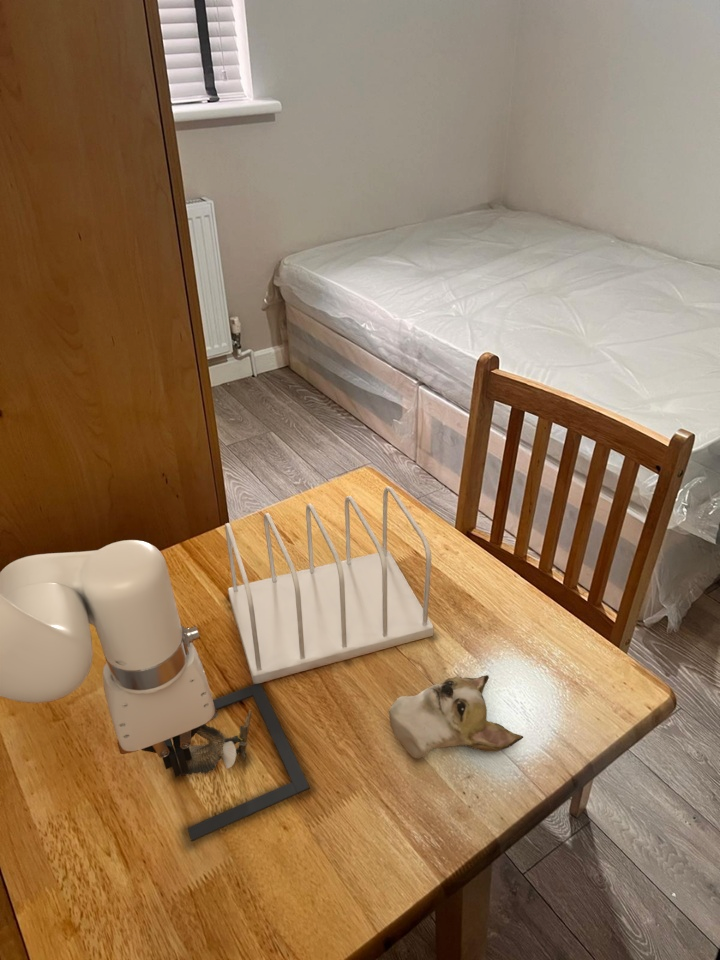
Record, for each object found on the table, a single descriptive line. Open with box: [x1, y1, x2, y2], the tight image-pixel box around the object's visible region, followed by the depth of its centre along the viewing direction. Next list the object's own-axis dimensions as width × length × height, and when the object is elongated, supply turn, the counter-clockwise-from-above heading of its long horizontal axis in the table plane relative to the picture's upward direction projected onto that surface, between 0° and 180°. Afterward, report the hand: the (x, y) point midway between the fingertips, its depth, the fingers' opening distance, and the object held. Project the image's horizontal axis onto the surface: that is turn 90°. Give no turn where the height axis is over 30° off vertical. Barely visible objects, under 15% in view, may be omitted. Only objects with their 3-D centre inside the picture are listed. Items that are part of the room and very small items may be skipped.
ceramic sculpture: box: [388, 674, 524, 760], centre depth 85 cm, size 11×9×15 cm
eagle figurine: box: [175, 709, 252, 777], centre depth 84 cm, size 8×7×9 cm
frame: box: [187, 683, 310, 842], centre depth 85 cm, size 14×16×1 cm
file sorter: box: [224, 486, 434, 685], centre depth 99 cm, size 25×17×16 cm
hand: (179, 764), depth 82 cm, fingers closed
